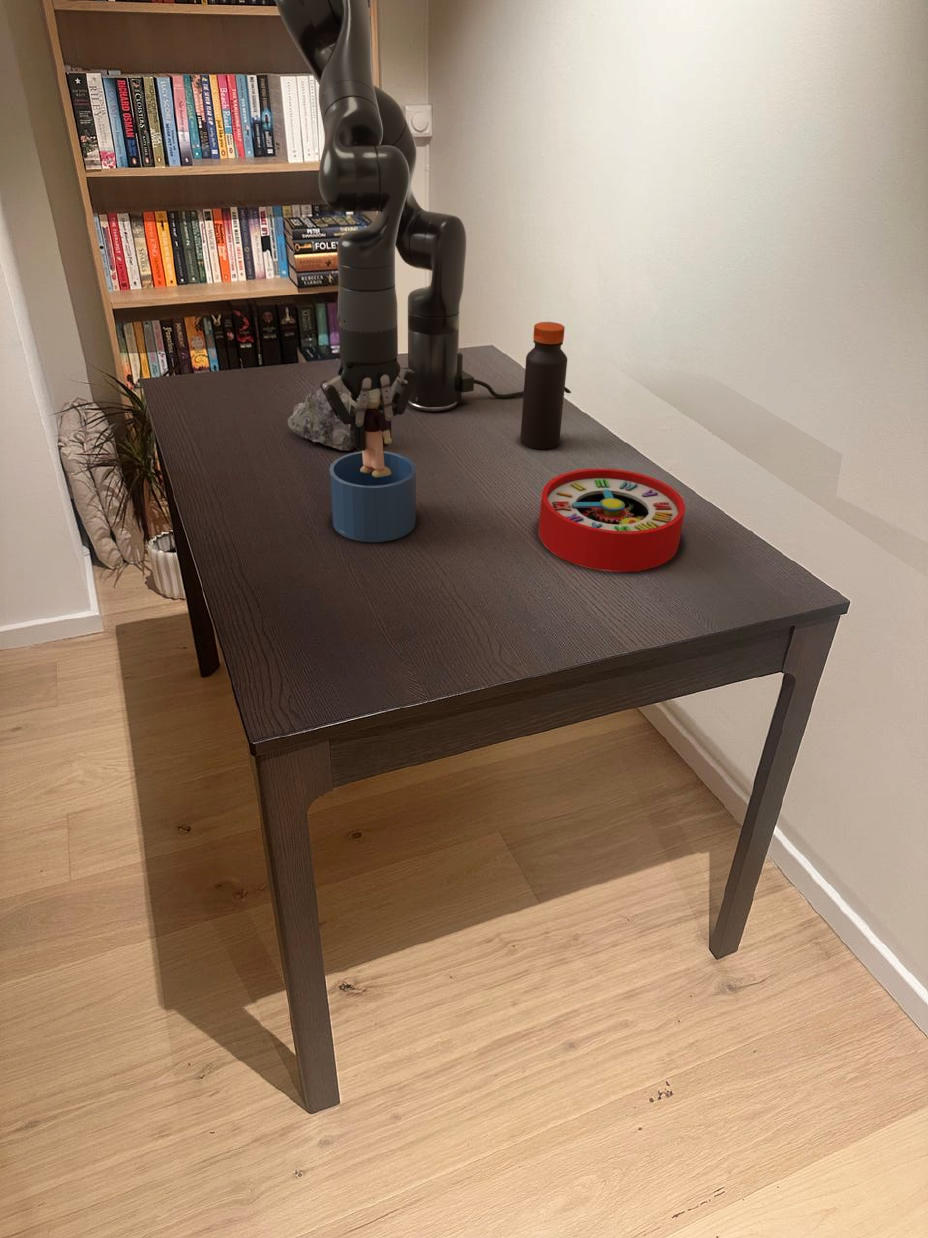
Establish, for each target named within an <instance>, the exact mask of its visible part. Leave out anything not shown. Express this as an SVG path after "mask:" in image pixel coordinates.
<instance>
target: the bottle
mask: <svg viewBox="0 0 928 1238" xmlns="http://www.w3.org/2000/svg"><path fill="white" fill-rule="evenodd" d="M565 329H566V328H565V326H564V325H563V324H561V323H558V322H553V321H540V322H537V323H535V324H534V326H533V335H532V336H533V337H532V339H533V341H532V342H533V343H534V347H533V348H532V349H530V351H528V352H527V354H526V357H525V368H524V382H523V391H524V394H523V395H522V409H521V425H520V436H519V437H520V442H521V444H522V445H524V446H526V448H531V449H533V450H534V449H535V450H551V449H553V448H555V447H557V446H558V445H559V444H560V440H561V431H562V419H563V411H564V410H563V409H564V399H565V391H564V390H565V387H566V379H567V371H568V369H567V368H568V356H567V355H566V353H565V352H564V351H563V349H562V345H563V344H564V339H565Z"/></svg>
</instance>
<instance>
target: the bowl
mask: <svg viewBox="0 0 928 1238" xmlns="http://www.w3.org/2000/svg"><path fill="white" fill-rule="evenodd" d="M383 455H384V466H385V467H388V468H389V469H390V471H391V474H390V475H388V476H383V477H374V476H372V473H373V471H372V472H369V473H363V472H361V471H360V469H361V468H362V467H363V466H364V465H363V455H362V451H361V452H360V451H356V452H351V453H348V454H344V455H342V456H340V457H338V458H337V459H335V460H334V461H332V463H331V464H330V467H329V468H328V469H329V470H328V472H329V473H328V474H329V488H330V505H331V506H330V507H331V520H332V527H333V528H334V530H335V531H336V532H337V533H338V534H339V535H341V536H342V537H345V538H346V539H349V540H352V541H356V542H363V543H383V542H389V541H395V540H398V539H400V538H403V537H405V536H407V535H408V534H409V533H411V532H412V531H413V530H414V528H415V526H416V523H417V467H416V465H415V462H413V461H412V460H411V459H410V458H408V457H406V456H404V455H402V454H399V453H395V452H391V451H385V450H383Z"/></svg>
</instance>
